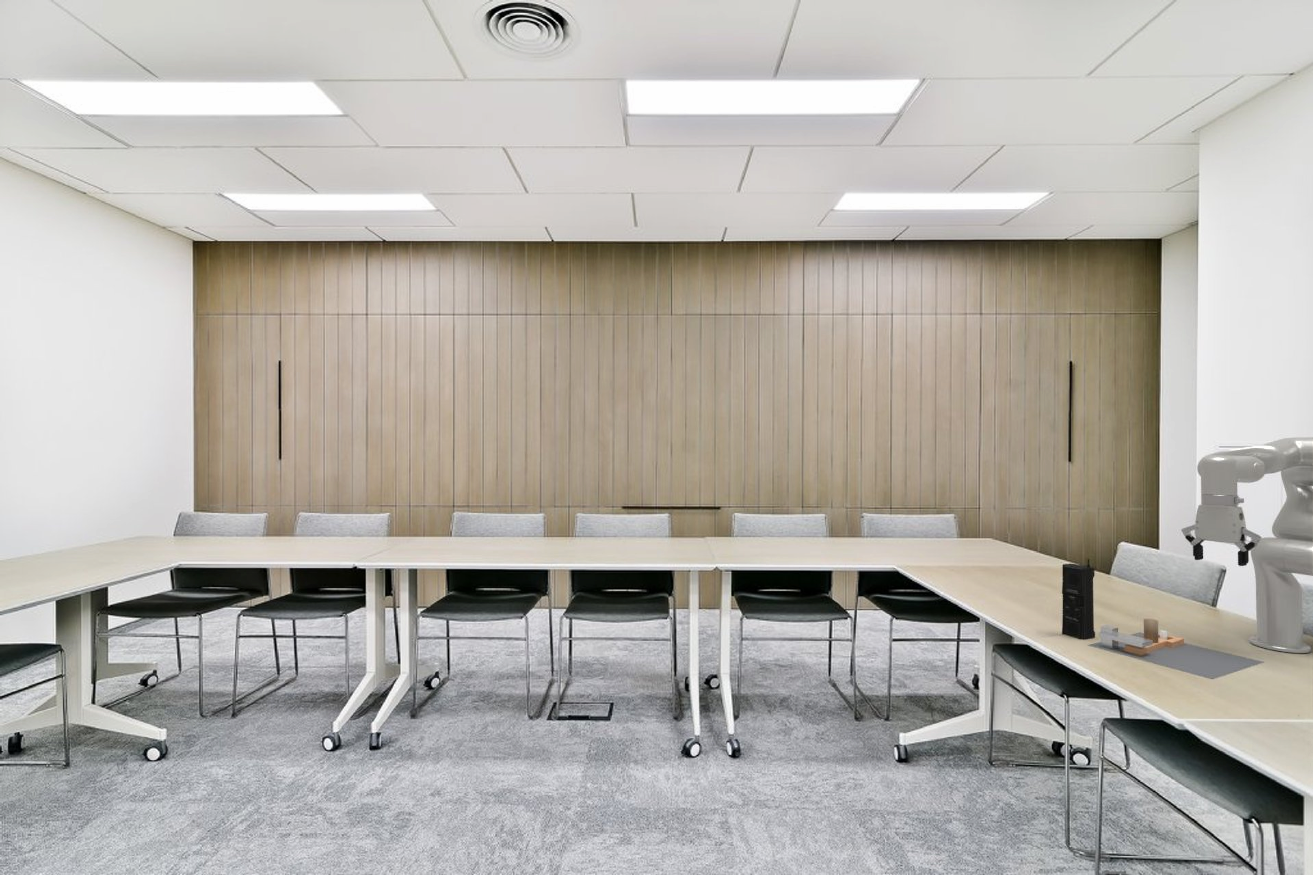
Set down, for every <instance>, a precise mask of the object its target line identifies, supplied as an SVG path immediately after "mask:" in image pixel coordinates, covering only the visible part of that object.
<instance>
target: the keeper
mask: <svg viewBox="0 0 1313 875" xmlns="http://www.w3.org/2000/svg"><path fill="white" fill-rule="evenodd" d="M1098 637H1100V642H1101V646H1104V647H1108V648H1112V649H1113V648H1117V647H1118V641H1119V642H1123V643H1127V644H1131V645H1134V646H1138V647H1142V648H1143V647H1147V646H1150V645H1153V640H1149V639H1144V638H1140V637H1136V636H1132V635H1131V634H1127V633H1123V632H1119V627H1116V626H1113V625H1108V624H1106V625H1101V626H1100V631H1099V632H1098Z"/></svg>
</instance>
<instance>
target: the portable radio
mask: <svg viewBox="0 0 1313 875" xmlns="http://www.w3.org/2000/svg"><path fill="white" fill-rule="evenodd" d="M1095 573H1096V572H1095V567H1094V566H1091V565H1090V558H1087V565H1082V564H1077V563H1063V564H1062V573H1061V574H1062V584H1061V585H1062V586H1061V594H1062V618H1061V619H1062V621H1061V622H1062V623H1061V624H1062V628H1061V635H1064V636H1067V637H1068V636H1069V637H1072V638H1074V639H1077V640H1081V641H1082V640H1083V641H1087V640H1090V639H1095V638H1096V631H1095V623H1094V622H1095V620H1094V618H1095V617H1094V614H1095V613H1094V609H1095V608H1094V578H1095Z"/></svg>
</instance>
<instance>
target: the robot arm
mask: <svg viewBox="0 0 1313 875" xmlns="http://www.w3.org/2000/svg"><path fill="white" fill-rule="evenodd" d="M1196 467H1197V473H1198V475H1199V476H1200V495H1201V496H1200V504H1199V505H1198V506H1197V510H1196V514H1195V520H1194V521H1195V524H1192V525H1190V526H1187V527H1183V528H1181V529H1180V531H1181V532H1182V534H1183V536H1184V537H1185V538H1184V539H1186V540H1187V541H1188V543H1190V545H1191V546H1192V556H1193V557H1194V560H1195V561H1200V560H1204V546H1203V545H1202V544H1203V543H1204V542H1205V541H1209V542H1214V543H1215V542H1218V543H1225V544H1234V545H1235V546H1236V547H1237V548H1238V549H1239V551H1237V565H1238V566H1239V567H1244V566H1247V564H1249V563H1250V562H1249V561H1250V557H1251V561H1252V564H1253V568H1254V569H1253V570H1254V575H1255V577H1254V578H1255V610H1256V617H1255V618H1256V619H1255V620H1256V635H1253V636H1249V643H1250V644H1252V645H1254V646H1257V647H1259V648H1264V649H1266V650H1273V651H1277V652H1284V653H1292V654H1293V653H1294V654H1307V653H1308V654H1309V653H1311V651H1312V650H1311V649H1312V648H1311V646H1309V644H1306V643H1304V641H1303V640H1304V638H1303V637H1304V636H1305V635H1304V634H1305V633H1304V632H1303V630H1304V629H1303V589H1302V587H1301V584H1300V582H1299V581H1298V580H1297V578H1296V577H1295V575H1294V574H1297V575H1303V576H1304V575H1305V576H1310V577H1313V437H1308V436H1307V437H1287V438H1285V437H1284V438H1281V439H1277V440H1274V441H1271V442H1267V443H1263V444H1261V445H1255V446H1248V447H1246V446H1245V447H1242V448H1234V449H1227V450H1220V451H1216V452H1213V453H1209V454H1207V455H1204V456H1203V457H1202V458H1201V459H1200V460H1199V461H1198V464H1197V466H1196ZM1279 472H1280V476H1281V480H1282V484H1283V487H1284V491H1285V493H1286V499H1285V502H1284V504H1283V505H1282V507H1281V508H1280V510H1279V512H1278V514H1277V515H1276V517H1275V519H1274V521H1273V523H1272V526H1271V532H1272V534H1273V536H1274V537H1269V536H1268V537H1262V536H1261V535H1260V534H1257V533H1256V532H1254V531H1251V530H1250V529H1249V530H1248V528H1247V525H1246V519H1245V518H1246V517H1245V513H1244V510H1243V507H1242V506H1239V504H1243V503H1245V498H1242V497H1239V494H1238V483H1242V484H1243V483H1245V484H1246V483H1248V484H1250V483H1255V482H1258V481H1260V480H1262V479H1263V478H1264V476H1265V475H1268V474H1275V473H1279ZM1193 531H1194V535H1192V533H1191V532H1193ZM1194 536H1195V537H1194ZM1248 537H1249V538H1250V541H1249V542H1248V543H1247V542H1246V541H1247V538H1248ZM1249 552H1250V557H1249Z"/></svg>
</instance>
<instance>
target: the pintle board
mask: <svg viewBox="0 0 1313 875" xmlns="http://www.w3.org/2000/svg"><path fill="white" fill-rule="evenodd" d="M1159 633H1160V638H1162V639H1166V640H1167V635H1168V632H1167V630H1164V629H1162V630H1159ZM1130 635H1132V636H1136V637H1140V638H1144V632H1136V633H1131V634H1130ZM1125 645H1127V643H1123V642H1119V641H1118V647H1117V648H1113V649H1112V648H1108V647H1104V646H1101V641H1098V642H1093V643H1090V644H1087V646H1089V647H1093V648H1095V649H1100V650H1103V651H1105V652H1106V651H1108V652H1111V653H1114V654H1118V655H1120V656H1121V655H1122V656H1124V657H1129V658H1132V659H1136V660H1140V661H1142V662H1143V661H1144V662H1146V663H1151V664H1154V665H1158V666H1162V667H1165V668H1168V669H1172V670H1173V669H1174V670H1175V671H1176V670H1177V671H1180V672H1183V673H1184V672H1185V673H1187V674H1191V675H1194V676H1195V675H1196V676H1199V677H1202V678H1206V679H1209V680H1215V679H1218V678H1221V677H1224V676H1227V675H1230V674H1233V673H1235V672H1239V671H1242V670H1245V669H1248V668H1252V667H1254V666H1257V665H1260V664H1263V663H1264V661H1261V660H1258V659H1253V658H1250V657H1245V656H1241V655H1237V654H1232V653H1228V652H1225V651H1219V650H1216V649H1212V648H1207V647H1202V646H1199V645H1194V644H1190V643H1185V642H1184V644H1183V645H1180V646H1178V647H1175V648H1170V647H1164V648H1161V649H1158V650H1155V651H1153V652H1150V653H1147V654H1144V655H1138V654H1134V653H1130V652H1126V651H1125Z"/></svg>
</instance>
